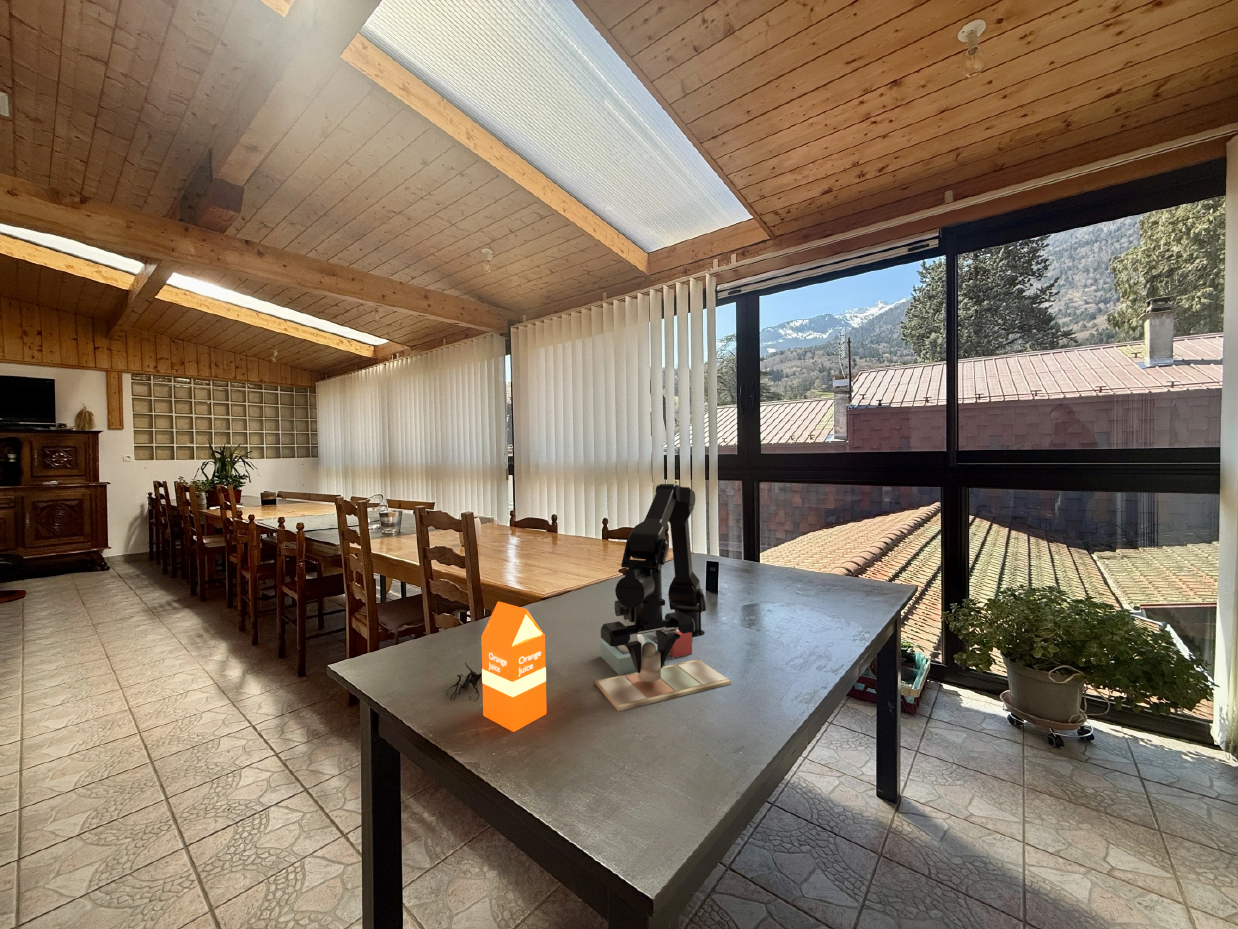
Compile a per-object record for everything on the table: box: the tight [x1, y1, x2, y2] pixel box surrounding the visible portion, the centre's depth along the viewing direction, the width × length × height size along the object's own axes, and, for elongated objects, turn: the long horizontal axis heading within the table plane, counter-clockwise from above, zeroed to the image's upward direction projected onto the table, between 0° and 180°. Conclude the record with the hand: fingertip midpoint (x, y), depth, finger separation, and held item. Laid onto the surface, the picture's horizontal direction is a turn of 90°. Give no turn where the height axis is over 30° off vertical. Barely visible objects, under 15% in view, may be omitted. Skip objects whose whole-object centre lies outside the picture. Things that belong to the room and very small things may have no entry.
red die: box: [668, 627, 693, 658], centre depth 115 cm, size 5×5×5 cm
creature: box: [445, 662, 482, 703], centre depth 96 cm, size 8×5×8 cm
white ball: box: [618, 634, 645, 655], centre depth 111 cm, size 6×6×6 cm
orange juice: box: [480, 601, 547, 733], centre depth 88 cm, size 8×9×20 cm
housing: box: [599, 633, 666, 676], centre depth 111 cm, size 11×11×4 cm
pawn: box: [638, 642, 661, 682], centre depth 98 cm, size 5×5×7 cm
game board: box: [594, 658, 732, 712], centre depth 99 cm, size 25×12×1 cm, turn 113°
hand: (649, 670), depth 98 cm, fingers closed on pawn, 5 cm apart
